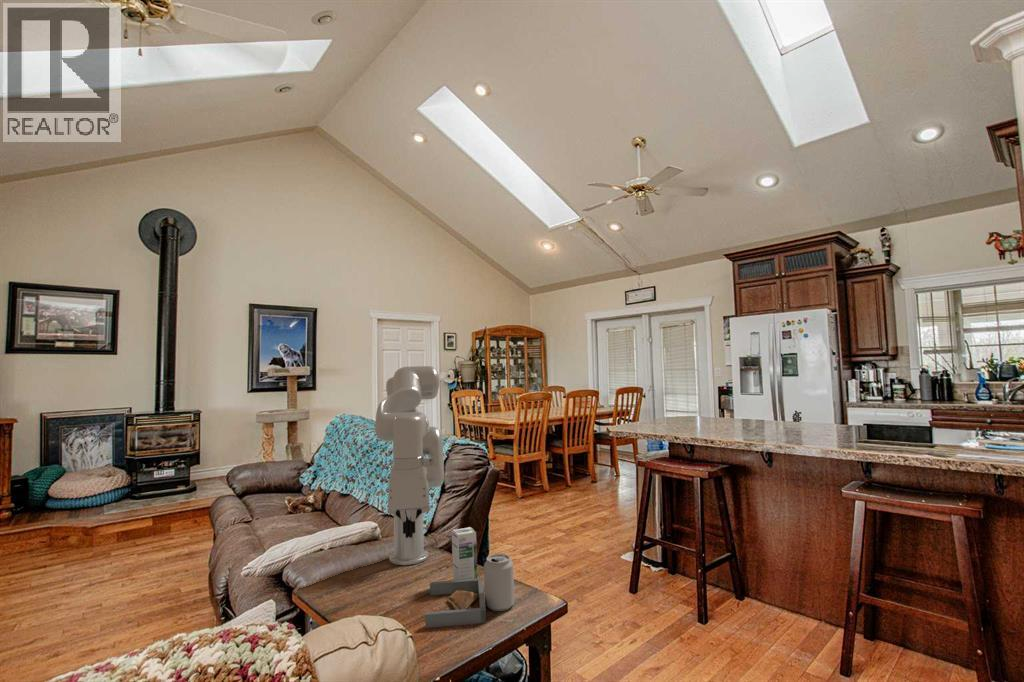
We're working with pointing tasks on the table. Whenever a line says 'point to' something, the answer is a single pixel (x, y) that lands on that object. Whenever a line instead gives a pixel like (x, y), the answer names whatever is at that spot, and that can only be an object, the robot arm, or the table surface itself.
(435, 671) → the table surface
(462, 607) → the shard
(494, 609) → the can
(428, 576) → the table surface
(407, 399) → the robot arm
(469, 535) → the syrup box
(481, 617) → the box
